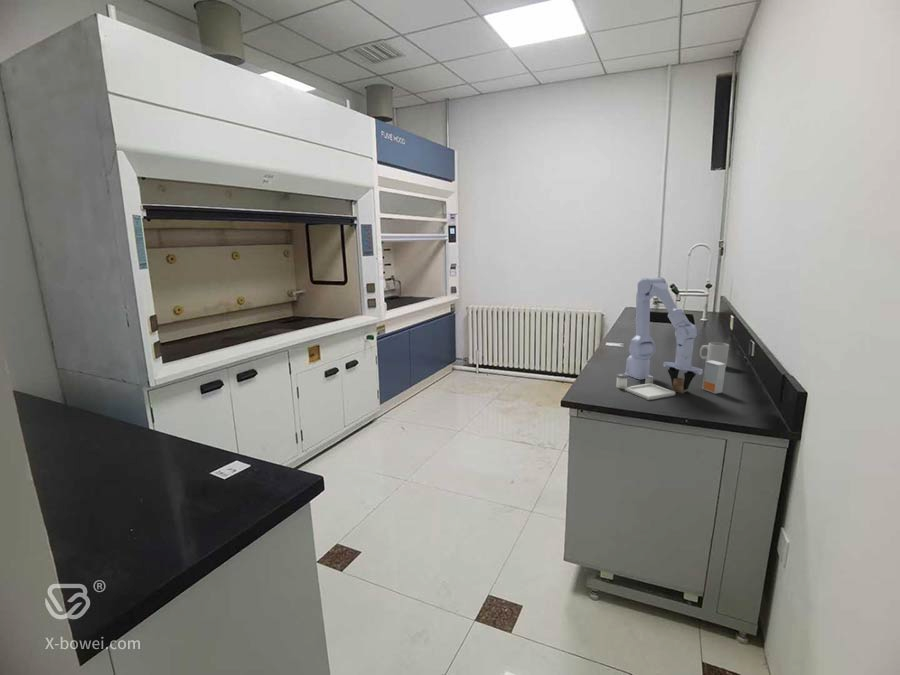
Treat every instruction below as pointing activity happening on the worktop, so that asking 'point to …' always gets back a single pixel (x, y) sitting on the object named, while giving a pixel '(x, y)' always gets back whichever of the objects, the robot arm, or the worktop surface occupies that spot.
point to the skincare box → (713, 376)
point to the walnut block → (679, 385)
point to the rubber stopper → (648, 380)
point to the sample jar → (621, 381)
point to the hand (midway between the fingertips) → (680, 387)
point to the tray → (649, 391)
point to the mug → (716, 352)
